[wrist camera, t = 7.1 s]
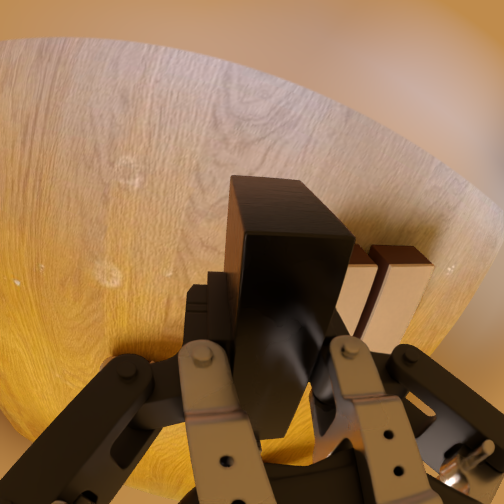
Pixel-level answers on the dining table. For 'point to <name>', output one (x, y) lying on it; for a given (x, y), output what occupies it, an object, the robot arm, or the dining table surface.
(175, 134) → the dining table surface
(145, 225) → the dining table surface
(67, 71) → the dining table surface
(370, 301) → the slotted tan block
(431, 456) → the robot arm
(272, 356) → the knife
